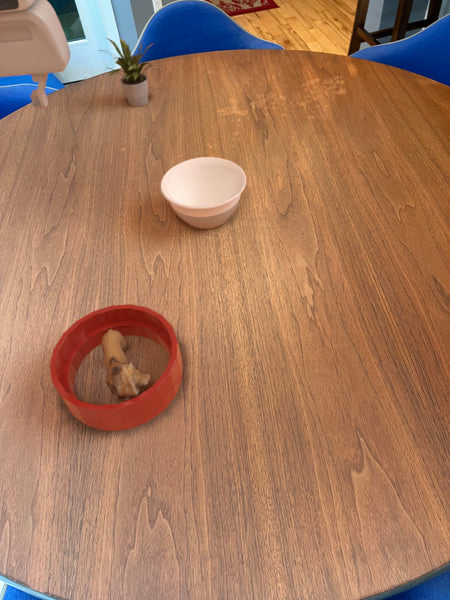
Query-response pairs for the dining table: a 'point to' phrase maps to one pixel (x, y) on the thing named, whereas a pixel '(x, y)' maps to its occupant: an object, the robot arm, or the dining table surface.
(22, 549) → the dining table surface
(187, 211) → the bowl
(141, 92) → the house plant
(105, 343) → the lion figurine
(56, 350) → the red plastic ring
